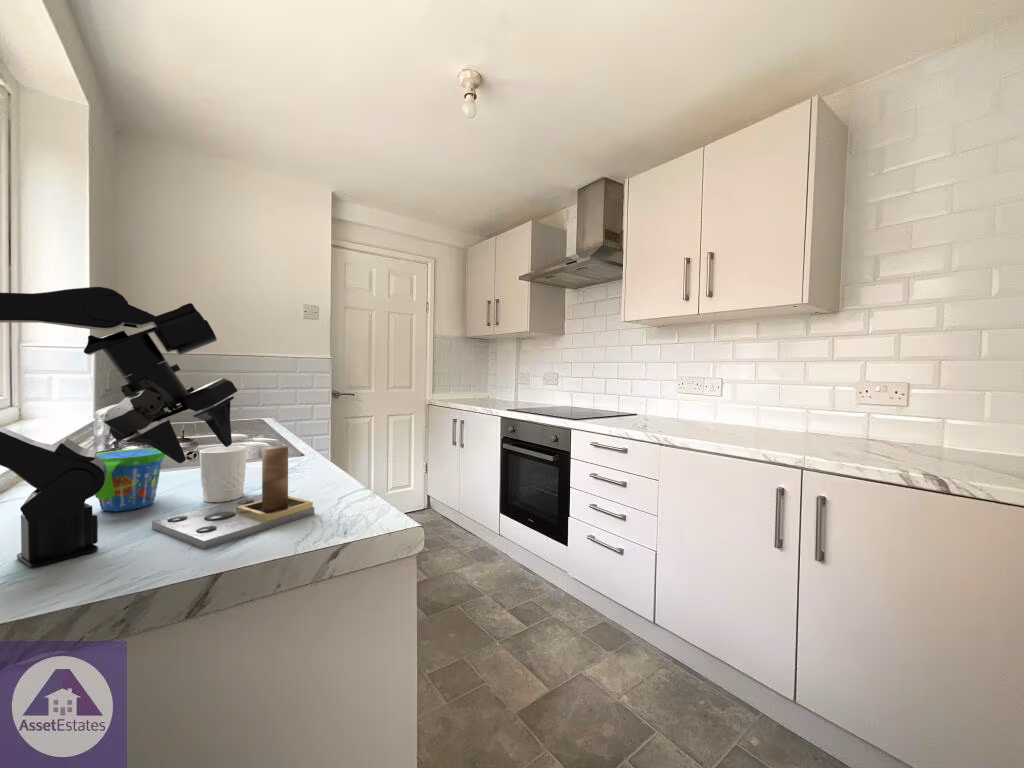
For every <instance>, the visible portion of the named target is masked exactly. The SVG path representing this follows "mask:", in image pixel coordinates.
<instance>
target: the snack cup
mask: <svg viewBox="0 0 1024 768" xmlns="http://www.w3.org/2000/svg"><path fill="white" fill-rule="evenodd" d="M96 456H97V457H99V458H100V459H102V460H103V462H104V463H105V465H106V470H107V472H106V477H105V481H104V485H103V487H102V488H101V490H100V491H99V492H98V493H96V494H95V495H94V497H95V498H97V500H98V502H99V506H100V508H101V511H106V512H122V511H123V512H124V511H130V510H136V508H137V509H140V508H145V507H147V506H149V505H151V504H152V503H154V501H155V499H156V497H157V490H158V484H159V480H160V474H161V467H162V465H161V464H162V462H163V460H164V458H165V457H166V455H165V454H164V453H162V452H161V451H159V450H157V449H156V448H134V449H122V450H121V449H120V450H111V451H105V452H100V453H98V452H97V454H96Z"/></svg>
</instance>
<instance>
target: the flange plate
mask: <svg viewBox="0 0 1024 768" xmlns="http://www.w3.org/2000/svg"><path fill="white" fill-rule="evenodd" d="M312 515H315V507H314V502H313V501H309V500H307V499H306V500H305V499H301V498H298V497H294V496H289V495H288V508H285V509H282V510H278V511H275V512H271V513H264V512H262V493H261V494H257V495H253V496H250V497H249V496H248V497H246V498H245V497H244V498H242V499H241V498H239V499H235V500H232V501H227V502H223V503H220V504H216V505H212V506H209V507H203V508H201V509H195V510H192V511H188V512H184V513H180V514H176V515H171V516H168V517H163V518H160V519H159V518H158V519H155V520H152V521H151V529H153V530H155V531H157V532H160V533H162V534H165V535H168V536H170V537H172V538H174V539H177V540H180V541H182V542H185V543H187V544H190V545H192V546H195V547H197V548H200V549H202V550H206V549H209V548H212V547H216V546H219V545H221V544H224V543H228V542H231V541H235V540H237V539H241V538H243V537H247V536H250V535H253V534H257V533H259V532H262V531H265V530H269V529H271V528H276V527H279V526H282V525H283V524H287V523H290V522H293V521H296V520H299V519H304V518H306V517H309V516H312Z"/></svg>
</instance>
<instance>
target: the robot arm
mask: <svg viewBox="0 0 1024 768" xmlns="http://www.w3.org/2000/svg"><path fill="white" fill-rule="evenodd" d="M0 323H1V324H2V323H4V324H5V323H7V324H8V323H17V324H18V323H20V324H21V323H24V324H25V323H28V324H29V323H35V324H36V323H40V324H41V323H42V324H50V325H58V326H64V327H69V328H70V327H72V328H79V329H86V330H94V331H95V330H96V331H103V332H104V331H106V332H107V331H114V330H118V329H120V328H122V327H123V328H124V327H125V328H131V329H142V328H145V327H148V326H152V327H150V328H148V329H145V330H143V331H139V332H136V333H134V334H133V333H132V334H130V335H129V334H127V333H126V332H125V330H120V331H117V332H115V333H111V334H109V335H105V336H103V337H97V336H95V335H92V334H91V335H90V334H89V335H88V336H87V344H86V346H85V348H84V349H83V353H84V354H86V355H88V356H92V355H94V354H95V355H96V354H97V353H99V352H102V351H103V352H104V354H105V355H106V356H107V358H108V359H109V361H110V362H111V364H112V365H113V366H114V367H115V369H116V370H117V371H118V374H120V376H121V377H122V378H123V380H124V381H125V382H126V384H124V385H121V386H120V388H121V392H122V394H123V395H124V396H125V397H124V399H122V400H121V401H120V402H118V403H117V404H116V406H115V407H113V409H112V410H111V411H110V412H109V413H108V414H107V415H106V416H105V417H104V419H103V420H102V422H103V423H104V424H106V425H107V426H109V434H111V436H112V438H114V439H115V441H116V442H119V441H122V440H124V439H126V440H125V442H126V443H129V444H130V443H133V442H135V443H143V444H147V445H148V446H151V448H153V449H157V450H159V451H161V452H162V453H164V454H165V456H167V457H168V458H170V459H172V460H173V461H175V462H176V463H178V464H182V463H184V462H186V460H187V458H186V455H185V453H184V450H183V448H182V446H181V445H182V444H181V443H180V442H179V439H178V437H177V434H176V432H175V430H174V427H173V426H172V423H171V421H170V419H166V418H168V417H171V416H174V415H177V414H179V413H182V412H184V411H187V410H192V411H194V412H196V414H193V417H194V418H197V419H198V420H202V421H203V422H205V423H206V425H207V426H208V427H209V428H210V429H211V431H212V433H213V434H214V435H215V436H216V438H217V439H218V441H219V442H220V443H221V444H222V446H225V447H228V446H232V443H233V440H232V428H231V401H232V400H234V399H235V396H234V394H235V393H237V392H238V391H239V390H238V389H237V387H236V385H234V383H233V382H232V381H231V380H229V379H227V378H225V377H222V378H220V379H217V380H214V381H212V382H210V383H207V384H205V385H203V386H201V387H199V388H196V389H194V387H193V386H191V387H188V388H186V387H185V385H184V384H183V382H182V381H181V379H180V378H179V376H178V375H177V374H176V373H177V372H179V371H181V368H180V366H179V365H178V364H177V363H176V364H173V365H170V363H169V362H168V360H167V359H166V358H165V356H164V355H163V353H162V352H161V350H160V349H159V347H158V346H157V344H156V343H155V342H154V340H153V339H152V337H151V335H150V334H153V335H154V336H155V338H156V339H157V341H158V342H159V344H160V345H161V347H162V348H163V349H164V351H165V352H166V353H167V354H168V353H171V352H173V351H174V352H175V353H176V354H177V355H178V356H182V355H185V354H186V353H189V352H192V351H195V350H197V349H199V348H202V347H205V346H207V345H210V344H212V343H215V342H217V341H218V339H217V336H216V334H215V332H214V330H213V328H212V326H211V325H210V324H209V322H208V320H206V319H205V318H204V316H202V314H201V313H200V312H199V311H198V310H197V309H196V307H195V306H194V304H193V303H192V302H189V303H186V304H183V305H181V306H179V307H177V308H175V309H173V310H169V311H166V312H164V313H160V314H157V315H154V314H153V313H150V312H149V311H148V310H146V311H145V310H143V309H140V308H138V307H136V306H133V305H131V304H129V303H128V300H127V299H126V298H125V297H124V296H123V295H122V294H121V293H119V292H118V291H116V290H115V289H112V288H109V287H104V286H89V287H79V288H78V287H77V288H68V289H61V290H53V291H52V290H51V291H46V292H35V293H34V292H33V293H29V292H27V293H26V292H25V293H23V292H20V293H19V292H0ZM166 408H167V409H168V410H165V409H166ZM163 419H166V420H163ZM161 420H163V421H161ZM96 454H98V450H95V449H89V448H84V447H83V446H80V445H79V444H78V443H75V442H74V441H73V440H71V439H70V438H68V437H66V438H63V440H62V441H61V442H60V443H59V444H58V445H54V444H50V443H44V442H40V441H36V440H34V439H32V438H29V437H28V436H24V435H22V434H20V433H17V432H15V431H14V430H11V429H8V428H6V427H4V426H1V425H0V466H1V467H4V468H6V469H8V470H10V471H12V472H13V473H14V474H16V475H17V476H18V477H19V478H21V479H22V480H23V481H24V482H26V483H27V484H29V485H30V486H31V487H32V488H35V490H34V491H32V492H31V494H30V495H28V497H27V499H26V500H25V501H24V502H23V504H22V505H21V507H20V508H19V509H20V512H21V515H20V545H21V549H20V550H21V552H19V553H17V554H16V558H17V559H18V560H20V561H21V562H22V563H24V564H25V565H27V566H28V567H29V568H38V567H41V566H44V565H48V564H52V563H55V562H56V563H57V562H61V561H63V560H66V559H71V558H75V557H78V556H82V555H86V554H89V553H93V552H97V551H98V550H99V546H97V545H96V544H97V543H98V540H99V539H98V537H99V536H98V532H99V531H98V530H99V529H98V525H99V524H98V515H97V514H94V513H93V505H91V504H88V503H86V501H87V499H90V498H92V497H95V494H96V493H98V492H99V491H100V490H101V488H102V487H103V485H104V481H105V477H106V472H107V470H106V465H105V463H104V462H103V460H102V459H100V458H99V457H97V456H96Z"/></svg>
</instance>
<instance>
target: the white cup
mask: <svg viewBox="0 0 1024 768" xmlns="http://www.w3.org/2000/svg"><path fill="white" fill-rule="evenodd" d="M247 448H248V447H247V446H244V445H230V446H228V447H225V446H224V445H219V446H213V447H210V446H209V447H206V448H203V449H200V450H199V461H200V463H199V465H200V466H199V467H200V468H199V469H200V481H201V488H202V497H203V498H202V499H203V502H206V503H213V502H214V503H215V502H216V503H227V502H232V501H236V500H239V499H241V498H242V497H243V496H244V487H245V481H246V479H245V478H246V468H247V467H246V466H247V465H246V464H247ZM240 497H241V498H240ZM231 500H232V501H231ZM216 503H215V504H216Z"/></svg>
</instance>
